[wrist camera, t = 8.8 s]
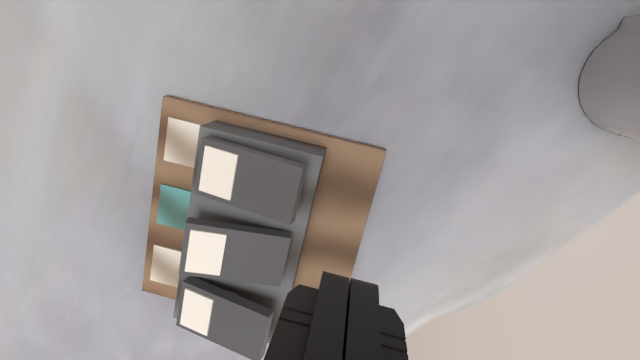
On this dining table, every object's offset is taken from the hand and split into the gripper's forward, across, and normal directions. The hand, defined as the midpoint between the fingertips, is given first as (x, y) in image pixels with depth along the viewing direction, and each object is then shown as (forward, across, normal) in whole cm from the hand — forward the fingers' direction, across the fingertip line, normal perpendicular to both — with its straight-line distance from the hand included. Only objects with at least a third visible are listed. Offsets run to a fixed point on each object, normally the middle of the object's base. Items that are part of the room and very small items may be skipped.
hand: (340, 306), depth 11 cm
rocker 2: (+23, +9, +12) cm, 27 cm away
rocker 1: (+23, +8, +5) cm, 25 cm away
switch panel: (+28, +8, +12) cm, 32 cm away
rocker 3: (+23, +8, +19) cm, 31 cm away
